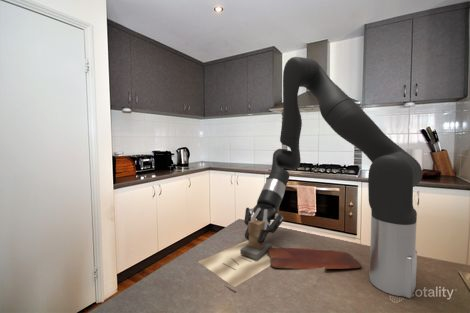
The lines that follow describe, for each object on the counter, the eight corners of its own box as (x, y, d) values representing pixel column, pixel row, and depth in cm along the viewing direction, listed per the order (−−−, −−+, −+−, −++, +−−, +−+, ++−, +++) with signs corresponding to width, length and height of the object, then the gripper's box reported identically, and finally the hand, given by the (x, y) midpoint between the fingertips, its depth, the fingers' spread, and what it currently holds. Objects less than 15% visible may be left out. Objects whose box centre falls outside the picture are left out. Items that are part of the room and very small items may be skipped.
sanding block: (271, 248, 74) (271, 219, 73) (256, 260, 66) (256, 228, 66) (256, 243, 77) (255, 216, 77) (240, 254, 70) (240, 224, 69)
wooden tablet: (272, 271, 62) (272, 265, 62) (265, 250, 72) (266, 246, 72) (366, 272, 63) (367, 266, 63) (347, 252, 73) (348, 247, 73)
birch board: (290, 257, 71) (290, 253, 71) (234, 293, 55) (234, 287, 55) (253, 241, 83) (253, 237, 83) (198, 266, 67) (197, 261, 67)
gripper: (250, 186, 81) (229, 230, 72) (287, 191, 72) (269, 241, 63) (258, 197, 85) (239, 240, 77) (294, 203, 77) (277, 252, 68)
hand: (253, 240), depth 70 cm, fingers closed on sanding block, 4 cm apart
